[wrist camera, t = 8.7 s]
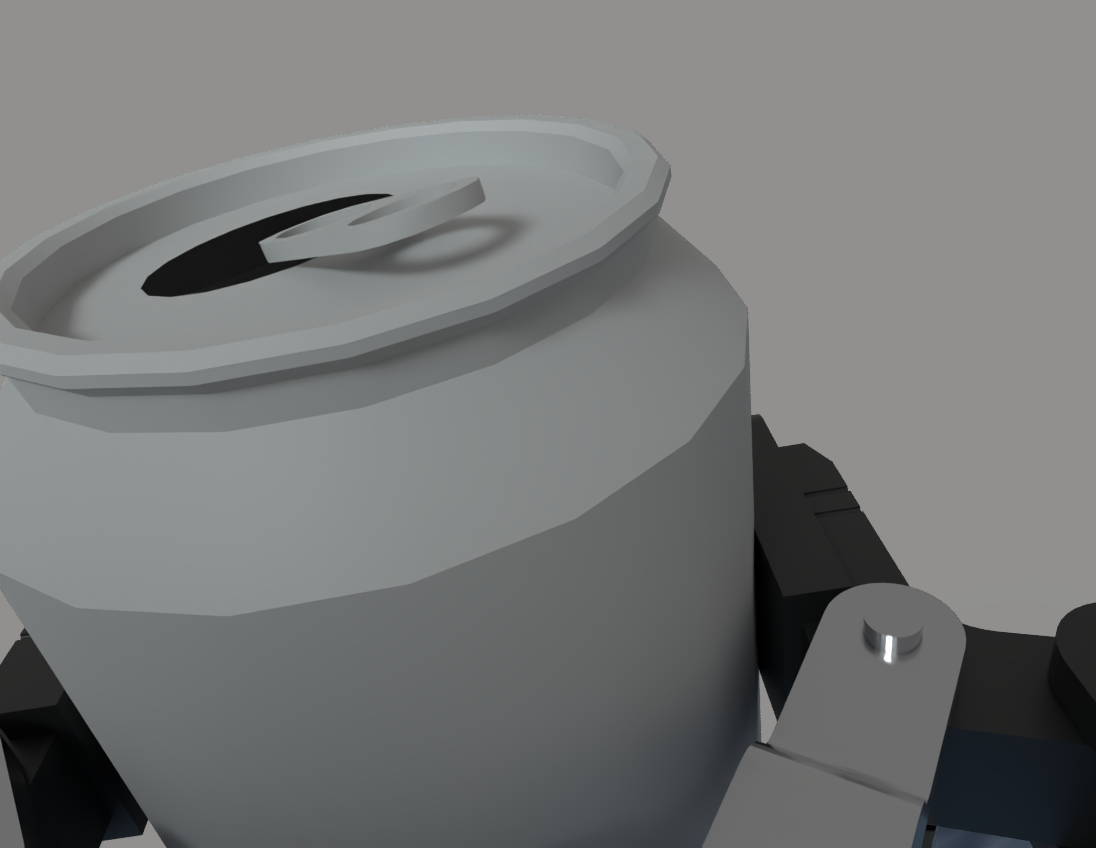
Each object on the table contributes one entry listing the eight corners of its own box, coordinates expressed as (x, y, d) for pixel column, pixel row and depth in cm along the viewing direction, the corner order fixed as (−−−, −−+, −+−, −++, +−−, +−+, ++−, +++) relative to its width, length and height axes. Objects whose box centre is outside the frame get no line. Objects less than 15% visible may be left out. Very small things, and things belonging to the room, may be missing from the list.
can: (512, 666, 18) (370, 84, 12) (851, 853, 14) (897, 78, 8) (210, 968, 14) (-259, 283, 8) (569, 1393, 9) (127, 553, 3)
